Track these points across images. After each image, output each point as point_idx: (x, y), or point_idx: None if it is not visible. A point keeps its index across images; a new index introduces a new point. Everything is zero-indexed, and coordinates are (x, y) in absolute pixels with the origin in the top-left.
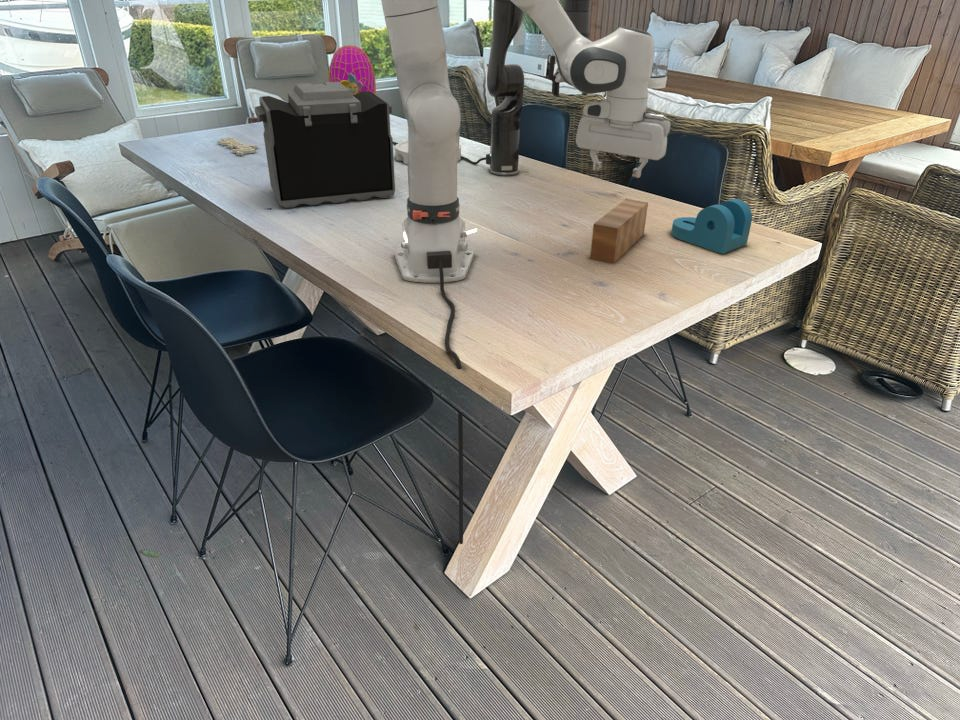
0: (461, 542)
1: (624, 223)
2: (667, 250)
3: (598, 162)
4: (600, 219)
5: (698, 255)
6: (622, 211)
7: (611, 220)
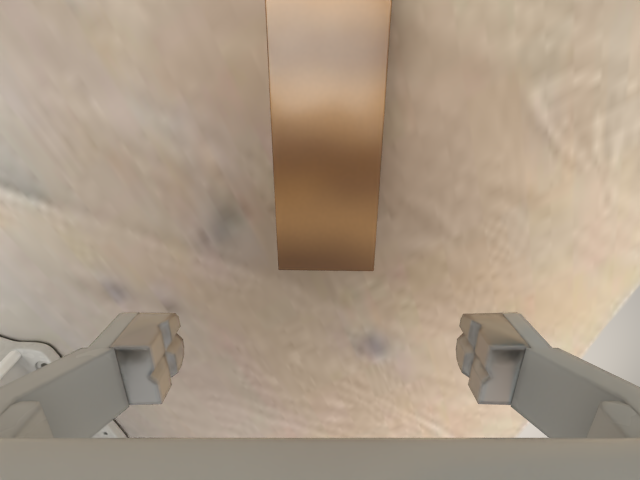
0: None
1: (378, 196)
2: (498, 17)
3: (136, 383)
4: (280, 214)
5: (614, 5)
6: (323, 50)
7: (323, 202)
